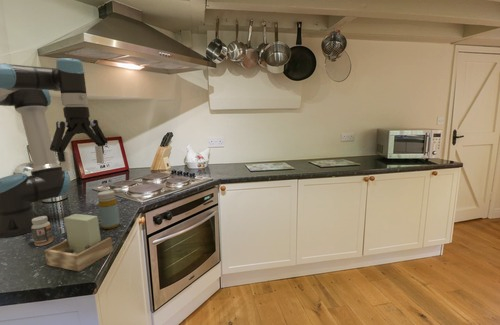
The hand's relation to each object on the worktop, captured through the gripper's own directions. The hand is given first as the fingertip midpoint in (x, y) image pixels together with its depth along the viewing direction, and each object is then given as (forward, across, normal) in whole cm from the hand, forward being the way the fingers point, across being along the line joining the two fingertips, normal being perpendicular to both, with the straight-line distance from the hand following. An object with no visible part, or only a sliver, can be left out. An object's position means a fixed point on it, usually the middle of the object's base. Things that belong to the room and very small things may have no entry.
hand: (84, 166), depth 98 cm
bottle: (+29, +12, +5) cm, 32 cm away
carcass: (+28, -11, -7) cm, 31 cm away
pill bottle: (+29, -7, +18) cm, 35 cm away
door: (+27, -9, -7) cm, 29 cm away
